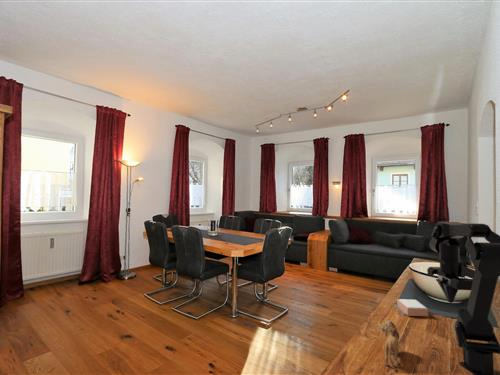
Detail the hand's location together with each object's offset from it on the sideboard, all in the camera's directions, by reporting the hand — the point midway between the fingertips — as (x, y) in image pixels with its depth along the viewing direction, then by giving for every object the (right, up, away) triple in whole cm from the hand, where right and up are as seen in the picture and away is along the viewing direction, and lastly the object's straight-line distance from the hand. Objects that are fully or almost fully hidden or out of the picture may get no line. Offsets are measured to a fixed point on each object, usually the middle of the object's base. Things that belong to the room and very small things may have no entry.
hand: (450, 302), depth 97 cm
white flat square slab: (0, -14, +25) cm, 28 cm away
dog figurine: (-26, -13, -10) cm, 31 cm away
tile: (-1, -12, +18) cm, 21 cm away
